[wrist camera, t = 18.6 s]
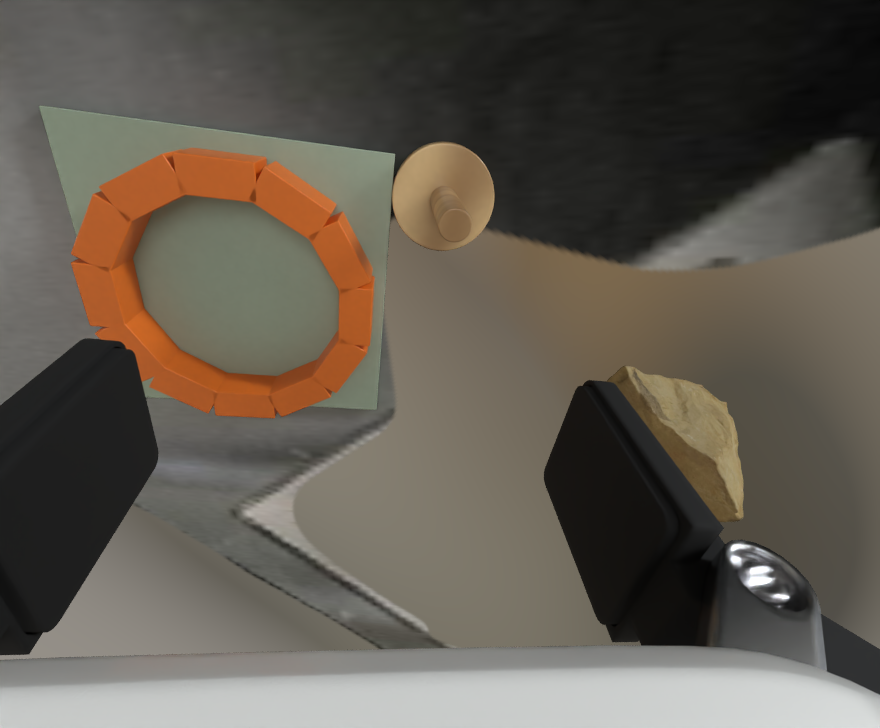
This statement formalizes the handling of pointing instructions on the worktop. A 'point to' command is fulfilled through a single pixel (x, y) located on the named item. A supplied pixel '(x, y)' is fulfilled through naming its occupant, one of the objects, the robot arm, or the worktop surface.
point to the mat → (237, 246)
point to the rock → (690, 435)
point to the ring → (126, 320)
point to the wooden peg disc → (442, 196)
